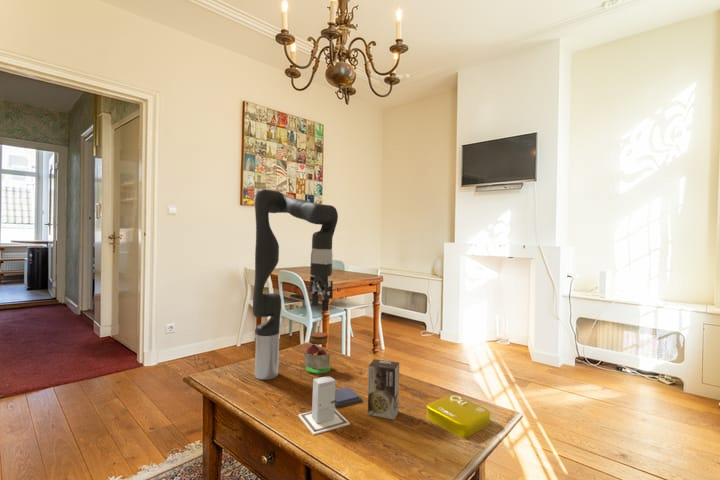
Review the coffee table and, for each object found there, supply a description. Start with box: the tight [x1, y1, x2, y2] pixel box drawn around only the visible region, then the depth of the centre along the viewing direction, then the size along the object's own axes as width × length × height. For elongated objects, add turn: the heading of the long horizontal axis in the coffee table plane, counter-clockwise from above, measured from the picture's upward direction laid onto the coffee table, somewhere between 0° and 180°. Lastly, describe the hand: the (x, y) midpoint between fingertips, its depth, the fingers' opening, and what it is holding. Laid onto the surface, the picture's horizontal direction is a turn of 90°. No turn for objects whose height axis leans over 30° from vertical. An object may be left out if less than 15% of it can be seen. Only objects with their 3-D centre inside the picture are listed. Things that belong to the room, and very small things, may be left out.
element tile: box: [425, 393, 491, 439], centre depth 108 cm, size 15×15×5 cm
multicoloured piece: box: [303, 331, 331, 375], centre depth 147 cm, size 12×13×15 cm
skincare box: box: [311, 375, 336, 424], centre depth 106 cm, size 6×4×12 cm
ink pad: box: [335, 387, 363, 409], centre depth 120 cm, size 10×10×2 cm
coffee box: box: [367, 358, 400, 420], centre depth 111 cm, size 9×6×16 cm
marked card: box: [297, 408, 351, 436], centre depth 106 cm, size 12×12×1 cm
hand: (319, 308), depth 119 cm, fingers open, 8 cm apart
